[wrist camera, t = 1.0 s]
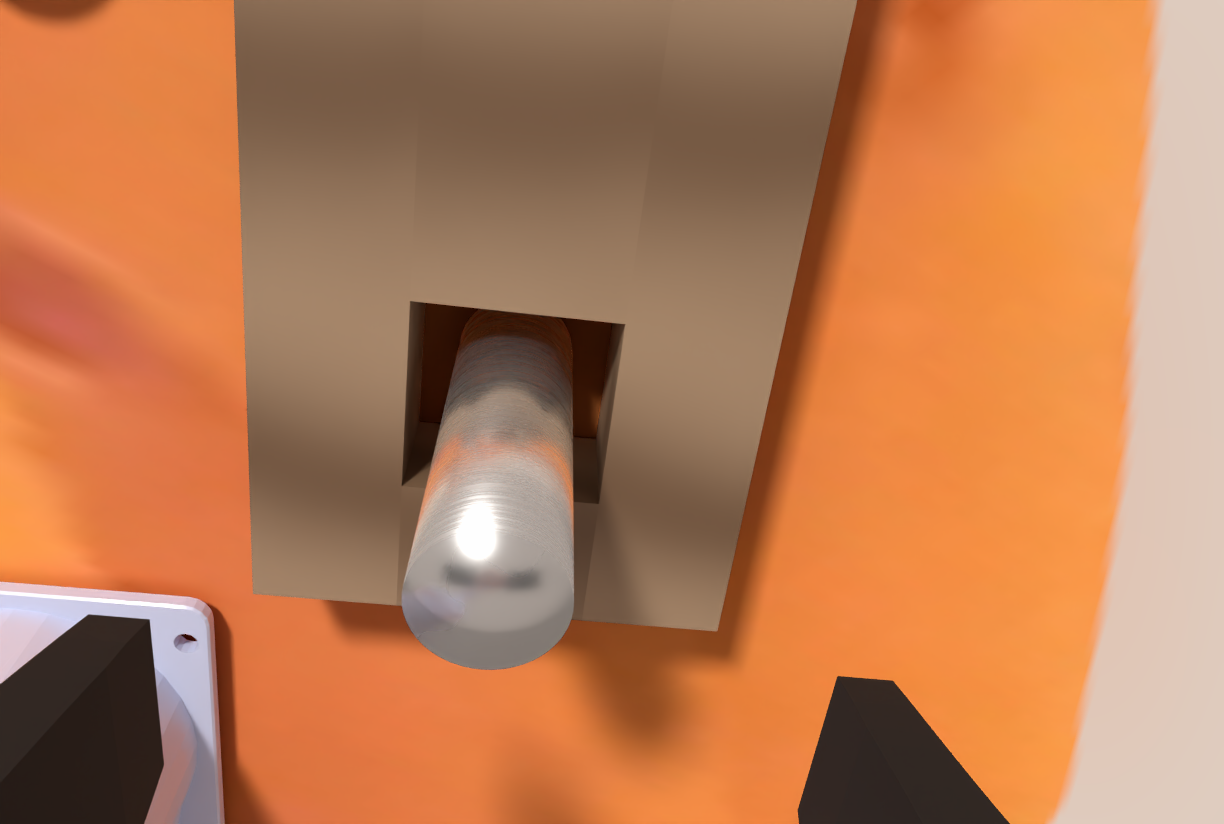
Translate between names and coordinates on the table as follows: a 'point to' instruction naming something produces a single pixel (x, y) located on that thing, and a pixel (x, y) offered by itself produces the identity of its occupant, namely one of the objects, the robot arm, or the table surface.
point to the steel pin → (498, 499)
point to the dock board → (522, 262)
